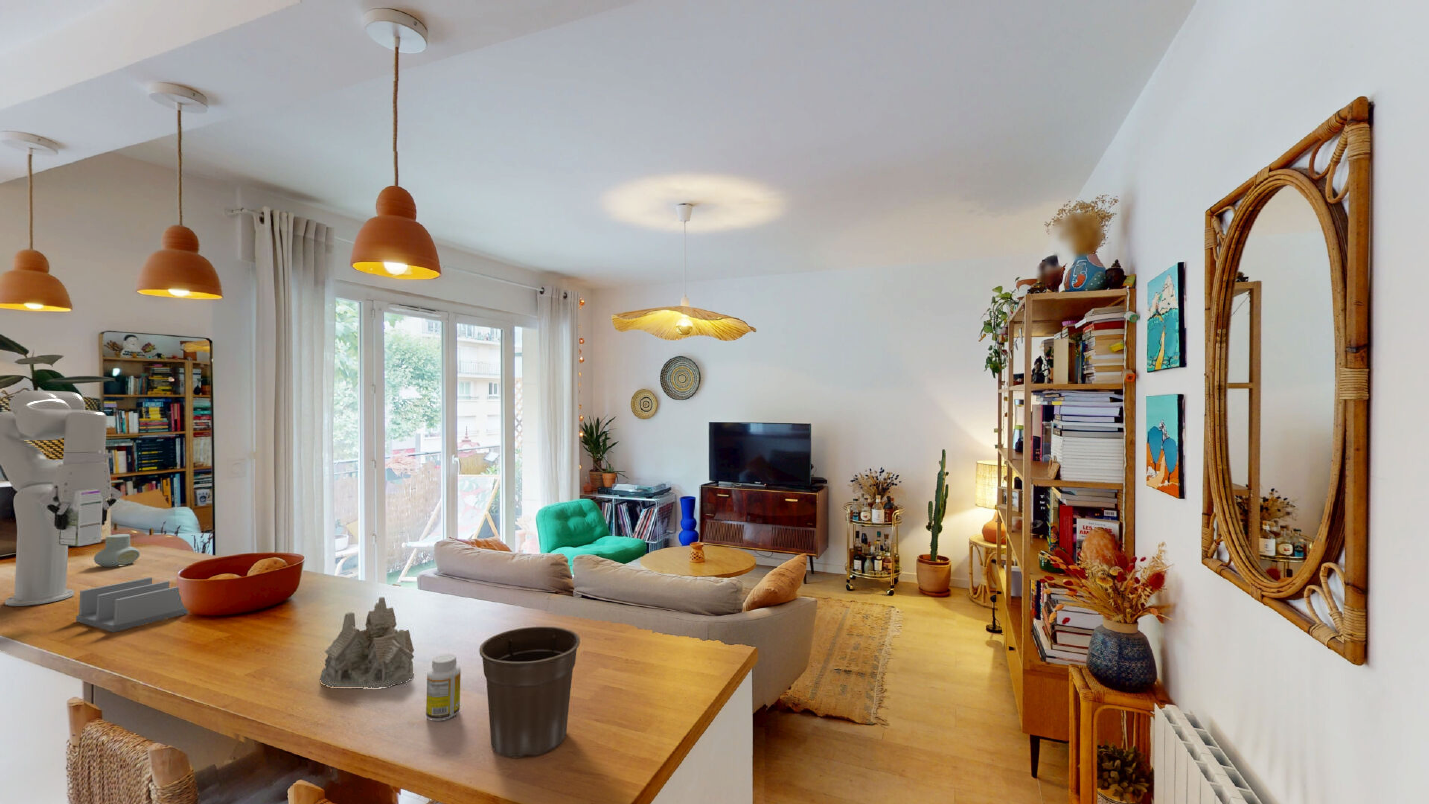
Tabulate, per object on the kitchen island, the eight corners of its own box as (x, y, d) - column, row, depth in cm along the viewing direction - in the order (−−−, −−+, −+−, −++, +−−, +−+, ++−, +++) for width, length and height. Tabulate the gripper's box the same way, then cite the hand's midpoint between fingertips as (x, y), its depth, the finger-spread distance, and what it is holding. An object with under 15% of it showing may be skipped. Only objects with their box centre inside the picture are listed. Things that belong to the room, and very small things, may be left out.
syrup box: (102, 542, 159) (105, 487, 159) (76, 546, 153) (79, 489, 153) (83, 540, 159) (86, 486, 160) (56, 545, 154) (59, 488, 154)
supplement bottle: (450, 704, 112) (452, 649, 112) (465, 714, 108) (467, 657, 109) (420, 715, 108) (422, 658, 108) (434, 726, 104) (436, 666, 104)
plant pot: (453, 753, 96) (457, 651, 97) (519, 708, 111) (522, 620, 112) (537, 777, 90) (540, 669, 91) (595, 726, 106) (598, 633, 106)
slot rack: (75, 621, 149) (77, 591, 149) (151, 604, 163) (152, 576, 163) (113, 632, 143) (114, 600, 143) (188, 613, 157) (189, 584, 157)
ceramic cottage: (316, 672, 124) (323, 600, 124) (404, 657, 134) (410, 590, 134) (325, 707, 112) (332, 627, 112) (420, 687, 122) (427, 614, 122)
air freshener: (123, 560, 207) (124, 531, 208) (144, 562, 206) (146, 532, 207) (87, 568, 196) (88, 538, 197) (109, 570, 196) (111, 539, 196)
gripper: (119, 455, 166) (116, 520, 166) (29, 459, 150) (25, 531, 150) (134, 457, 163) (131, 523, 163) (44, 461, 147) (40, 534, 147)
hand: (80, 526), depth 156 cm, fingers closed on syrup box, 6 cm apart
